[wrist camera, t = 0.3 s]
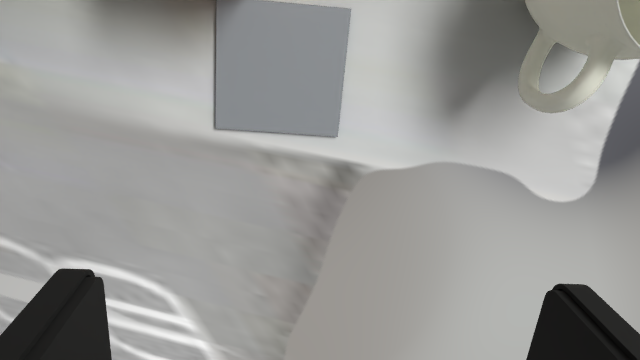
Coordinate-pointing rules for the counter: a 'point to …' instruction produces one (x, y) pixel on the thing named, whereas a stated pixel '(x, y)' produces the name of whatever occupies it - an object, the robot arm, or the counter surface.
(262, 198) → the counter surface
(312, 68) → the mat
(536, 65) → the pitcher
